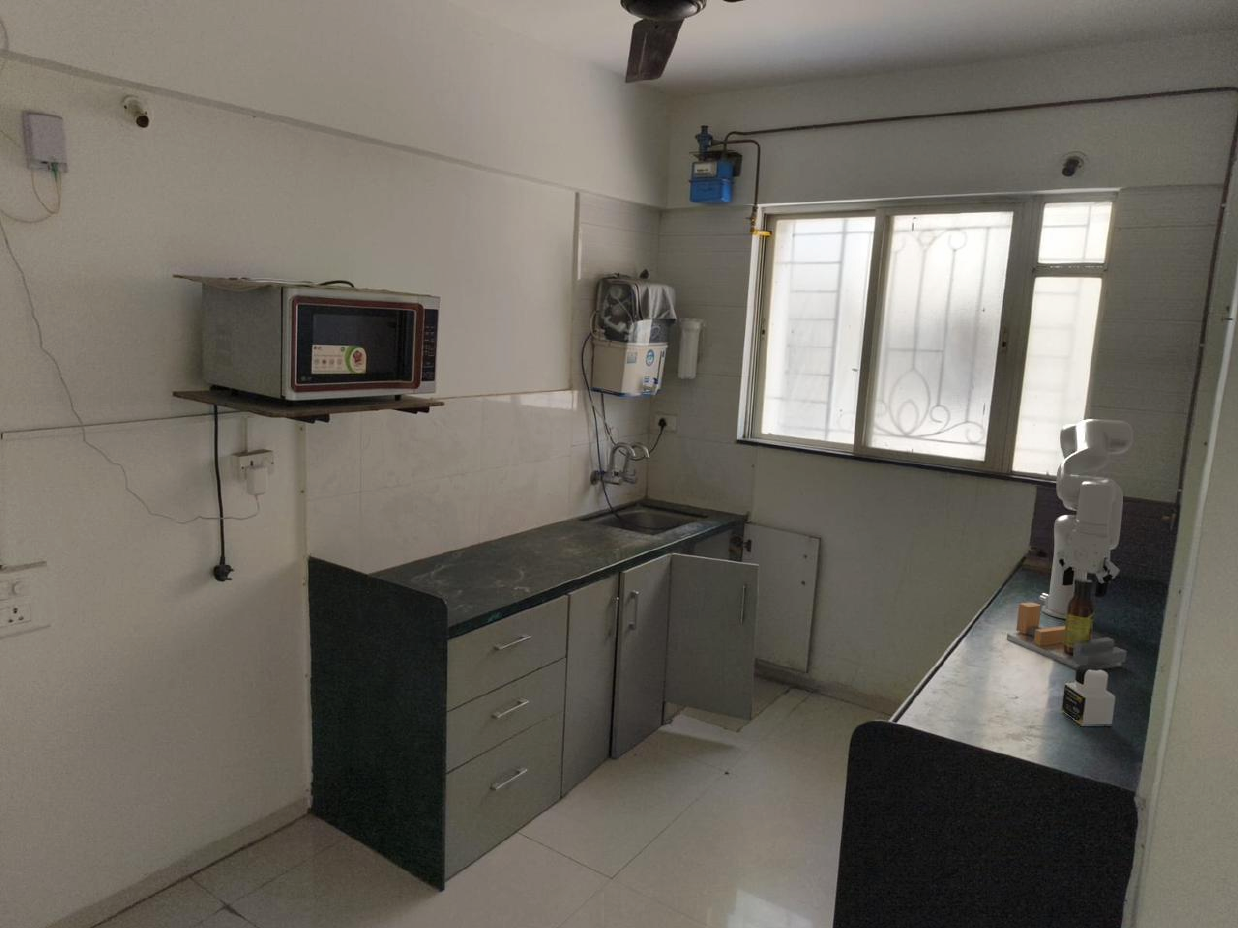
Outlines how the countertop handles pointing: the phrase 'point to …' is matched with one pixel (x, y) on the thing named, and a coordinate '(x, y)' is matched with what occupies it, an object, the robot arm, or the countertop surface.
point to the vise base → (1049, 650)
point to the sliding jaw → (1037, 625)
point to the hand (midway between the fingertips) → (1083, 590)
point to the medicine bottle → (1089, 696)
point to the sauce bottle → (1079, 615)
